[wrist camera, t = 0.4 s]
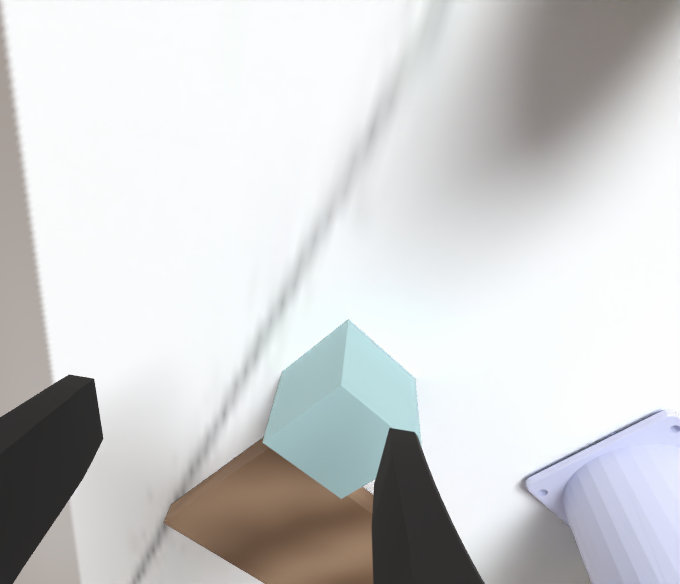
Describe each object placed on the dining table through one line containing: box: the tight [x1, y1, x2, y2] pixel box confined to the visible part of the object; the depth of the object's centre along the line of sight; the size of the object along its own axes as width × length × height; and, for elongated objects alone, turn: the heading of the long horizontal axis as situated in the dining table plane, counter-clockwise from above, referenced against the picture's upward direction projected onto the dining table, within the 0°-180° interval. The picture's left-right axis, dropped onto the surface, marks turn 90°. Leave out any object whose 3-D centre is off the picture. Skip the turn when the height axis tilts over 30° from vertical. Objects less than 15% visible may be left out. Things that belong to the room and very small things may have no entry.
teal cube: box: [262, 319, 422, 499], centre depth 21 cm, size 4×4×4 cm
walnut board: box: [163, 437, 374, 584], centre depth 28 cm, size 12×10×1 cm
